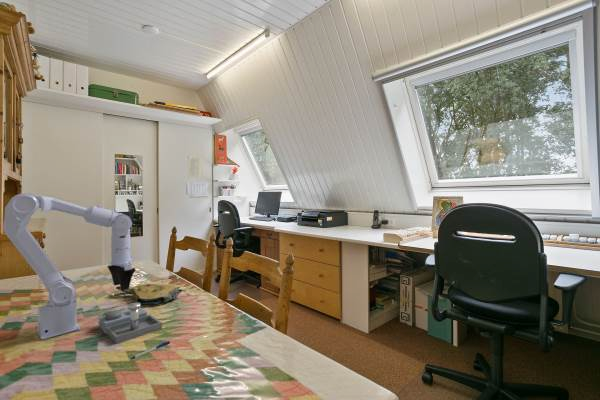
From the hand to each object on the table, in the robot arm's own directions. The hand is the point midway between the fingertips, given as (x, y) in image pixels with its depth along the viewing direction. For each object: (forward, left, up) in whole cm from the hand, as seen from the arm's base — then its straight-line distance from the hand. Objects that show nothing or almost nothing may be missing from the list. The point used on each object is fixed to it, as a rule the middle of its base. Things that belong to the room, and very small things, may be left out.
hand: (121, 287), depth 103 cm
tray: (-1, -15, -10) cm, 18 cm away
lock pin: (-1, -15, -10) cm, 18 cm away
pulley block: (+13, +13, -11) cm, 22 cm away
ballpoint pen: (-2, -31, -11) cm, 33 cm away
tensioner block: (-1, -7, -10) cm, 12 cm away
